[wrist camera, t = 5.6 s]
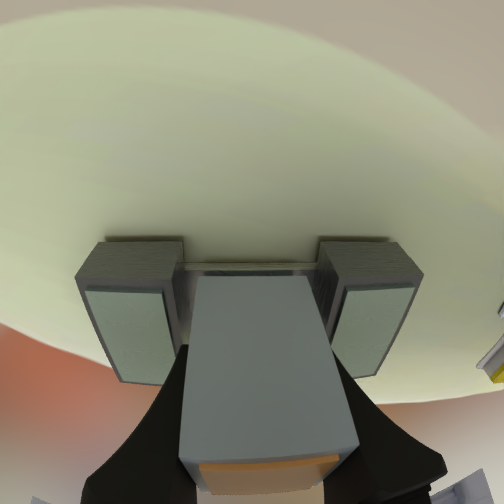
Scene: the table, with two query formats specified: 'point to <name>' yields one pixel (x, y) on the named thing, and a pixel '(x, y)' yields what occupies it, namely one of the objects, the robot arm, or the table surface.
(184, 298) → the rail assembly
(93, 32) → the table surface
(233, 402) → the block
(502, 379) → the emergency button
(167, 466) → the robot arm
